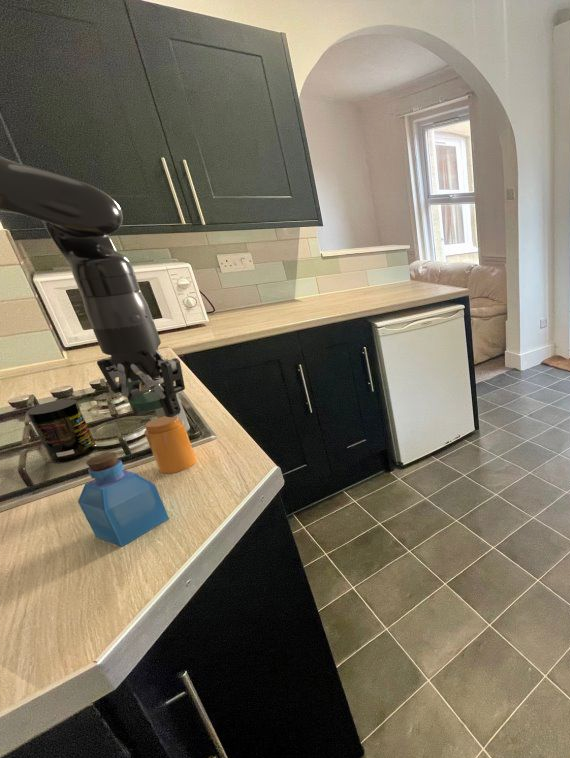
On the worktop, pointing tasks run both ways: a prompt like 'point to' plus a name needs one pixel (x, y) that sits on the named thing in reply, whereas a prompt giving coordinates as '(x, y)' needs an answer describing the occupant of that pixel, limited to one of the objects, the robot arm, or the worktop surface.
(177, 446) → the jar
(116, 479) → the perfume bottle
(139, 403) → the lid
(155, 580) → the worktop surface
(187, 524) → the worktop surface
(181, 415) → the planter
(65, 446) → the supplement container
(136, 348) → the robot arm
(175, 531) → the worktop surface
